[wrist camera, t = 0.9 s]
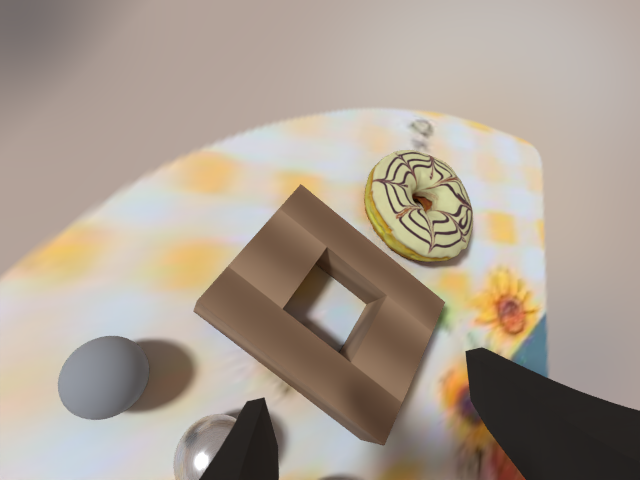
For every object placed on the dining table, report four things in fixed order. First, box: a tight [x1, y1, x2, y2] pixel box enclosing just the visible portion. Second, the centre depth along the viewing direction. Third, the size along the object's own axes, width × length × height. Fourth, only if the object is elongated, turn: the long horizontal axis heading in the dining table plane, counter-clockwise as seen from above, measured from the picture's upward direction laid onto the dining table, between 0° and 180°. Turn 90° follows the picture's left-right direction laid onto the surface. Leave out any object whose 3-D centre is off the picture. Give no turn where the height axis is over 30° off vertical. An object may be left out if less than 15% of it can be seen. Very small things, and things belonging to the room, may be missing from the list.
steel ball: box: [174, 414, 237, 480], centre depth 19 cm, size 4×4×4 cm
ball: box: [58, 336, 149, 420], centre depth 18 cm, size 4×4×4 cm
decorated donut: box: [364, 150, 473, 262], centre depth 32 cm, size 10×11×4 cm
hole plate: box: [194, 185, 445, 445], centre depth 25 cm, size 11×14×3 cm
